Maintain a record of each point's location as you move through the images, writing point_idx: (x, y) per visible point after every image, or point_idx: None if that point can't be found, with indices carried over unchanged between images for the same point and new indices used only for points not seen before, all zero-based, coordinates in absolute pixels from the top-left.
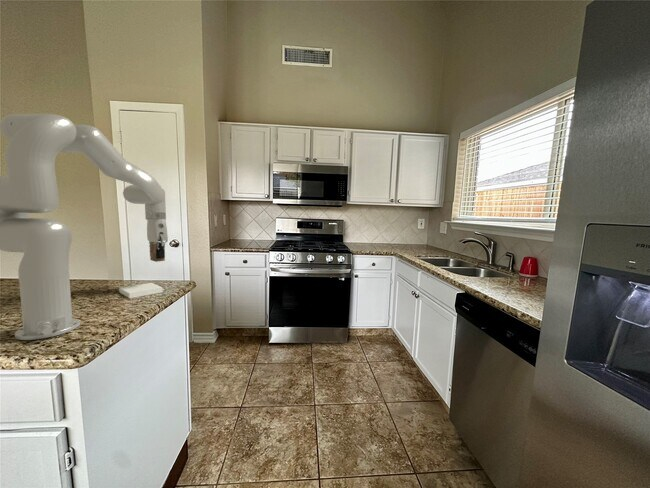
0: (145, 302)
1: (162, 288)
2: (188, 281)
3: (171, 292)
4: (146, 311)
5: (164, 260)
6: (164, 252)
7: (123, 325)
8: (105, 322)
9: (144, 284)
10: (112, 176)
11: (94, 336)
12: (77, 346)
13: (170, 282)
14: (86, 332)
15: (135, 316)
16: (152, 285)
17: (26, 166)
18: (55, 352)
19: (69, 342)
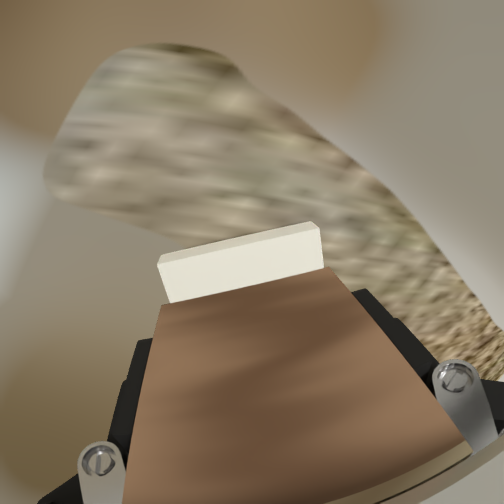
0: (405, 294)
1: (317, 227)
2: (123, 51)
3: (335, 184)
4: (471, 293)
5: (329, 271)
6: (398, 326)
7: (495, 328)
8: (462, 358)
9: (183, 298)
10: None
11: (494, 356)
12: (501, 365)
13: (88, 148)
14: None
15: (478, 314)
16: (235, 267)
17: None
18: (495, 379)
19: (485, 377)
